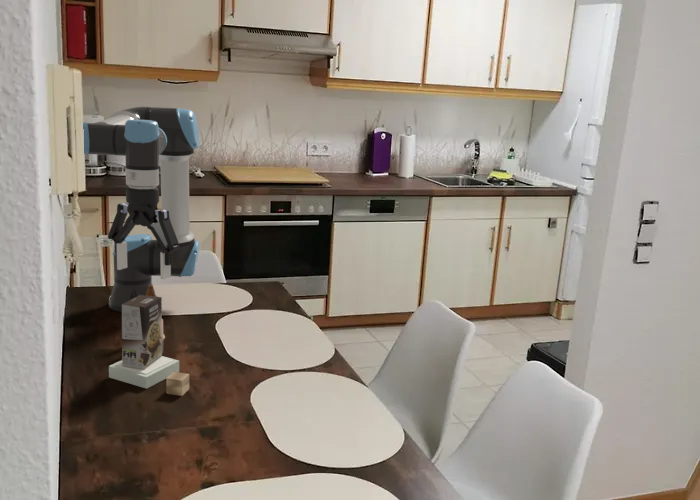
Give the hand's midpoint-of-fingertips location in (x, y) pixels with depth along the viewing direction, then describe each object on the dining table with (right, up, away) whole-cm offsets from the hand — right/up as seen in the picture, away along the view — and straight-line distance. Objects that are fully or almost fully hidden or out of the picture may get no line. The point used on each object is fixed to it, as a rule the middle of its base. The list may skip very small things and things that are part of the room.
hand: (143, 273), depth 162 cm
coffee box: (-2, -23, +6) cm, 23 cm away
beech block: (+9, -28, -2) cm, 30 cm away
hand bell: (-7, -20, +30) cm, 37 cm away
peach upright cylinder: (-5, -22, +20) cm, 30 cm away
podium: (-2, -26, +6) cm, 27 cm away
